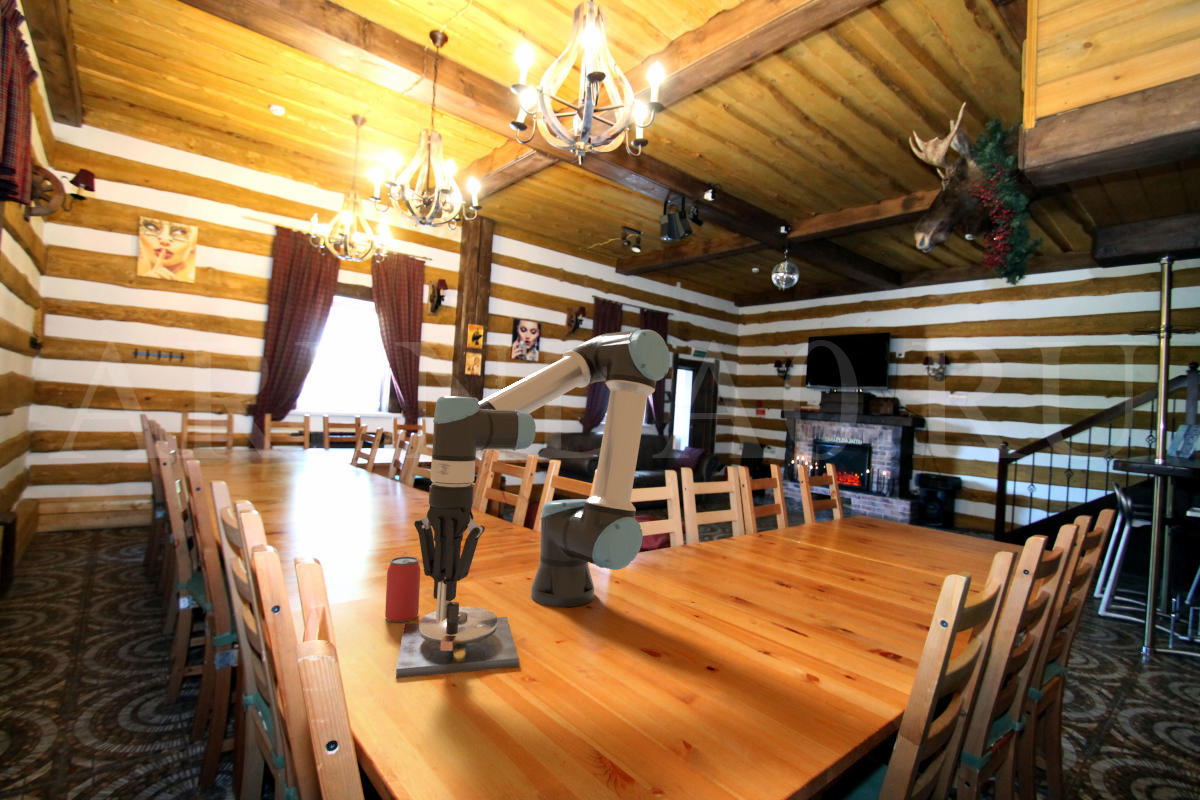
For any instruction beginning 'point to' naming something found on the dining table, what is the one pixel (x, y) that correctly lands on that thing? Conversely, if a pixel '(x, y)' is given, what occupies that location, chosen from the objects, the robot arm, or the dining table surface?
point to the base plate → (442, 660)
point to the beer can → (402, 589)
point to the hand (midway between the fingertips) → (443, 617)
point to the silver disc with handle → (458, 626)
